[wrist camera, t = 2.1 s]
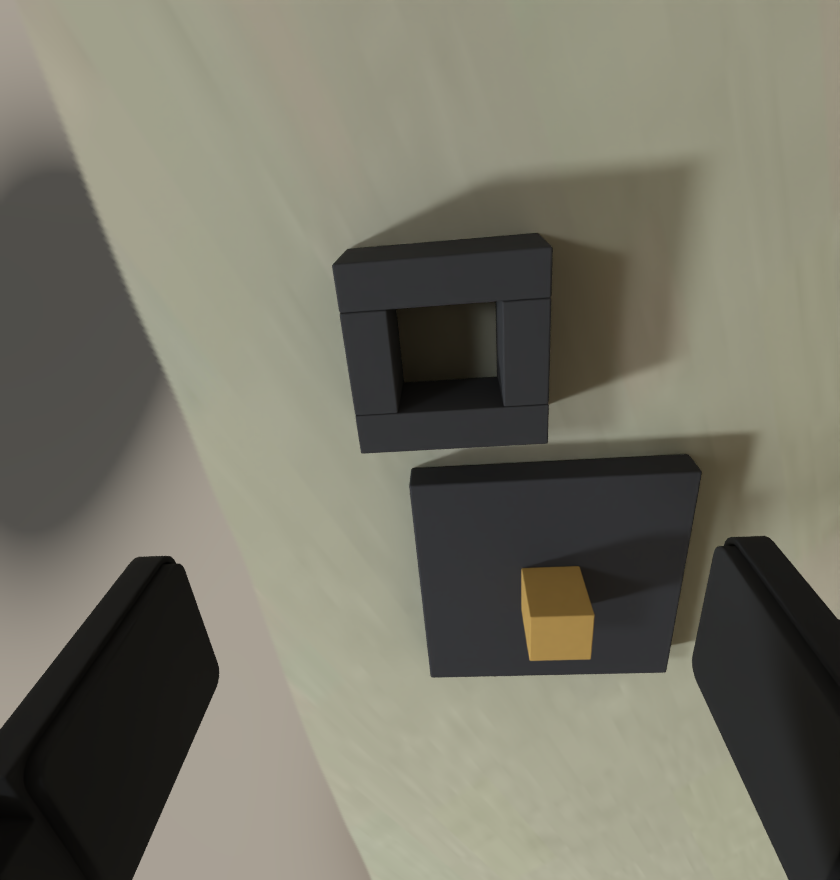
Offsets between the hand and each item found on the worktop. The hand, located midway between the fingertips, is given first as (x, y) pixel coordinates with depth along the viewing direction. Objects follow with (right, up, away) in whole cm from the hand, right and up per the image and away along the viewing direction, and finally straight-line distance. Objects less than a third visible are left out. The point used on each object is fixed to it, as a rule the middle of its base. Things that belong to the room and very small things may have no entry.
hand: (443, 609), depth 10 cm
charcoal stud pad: (+6, -3, +17) cm, 18 cm away
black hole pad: (+1, +7, +12) cm, 14 cm away
